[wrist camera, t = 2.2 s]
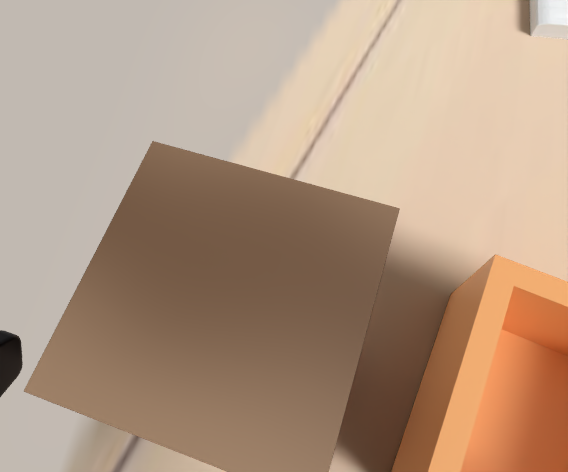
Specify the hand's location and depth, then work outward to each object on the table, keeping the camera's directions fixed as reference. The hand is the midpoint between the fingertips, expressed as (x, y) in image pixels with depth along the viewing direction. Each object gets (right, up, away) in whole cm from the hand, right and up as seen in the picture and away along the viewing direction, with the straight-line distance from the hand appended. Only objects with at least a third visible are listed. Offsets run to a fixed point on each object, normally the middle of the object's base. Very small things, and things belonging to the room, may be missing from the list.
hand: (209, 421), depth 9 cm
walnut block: (+1, -2, +9) cm, 10 cm away
